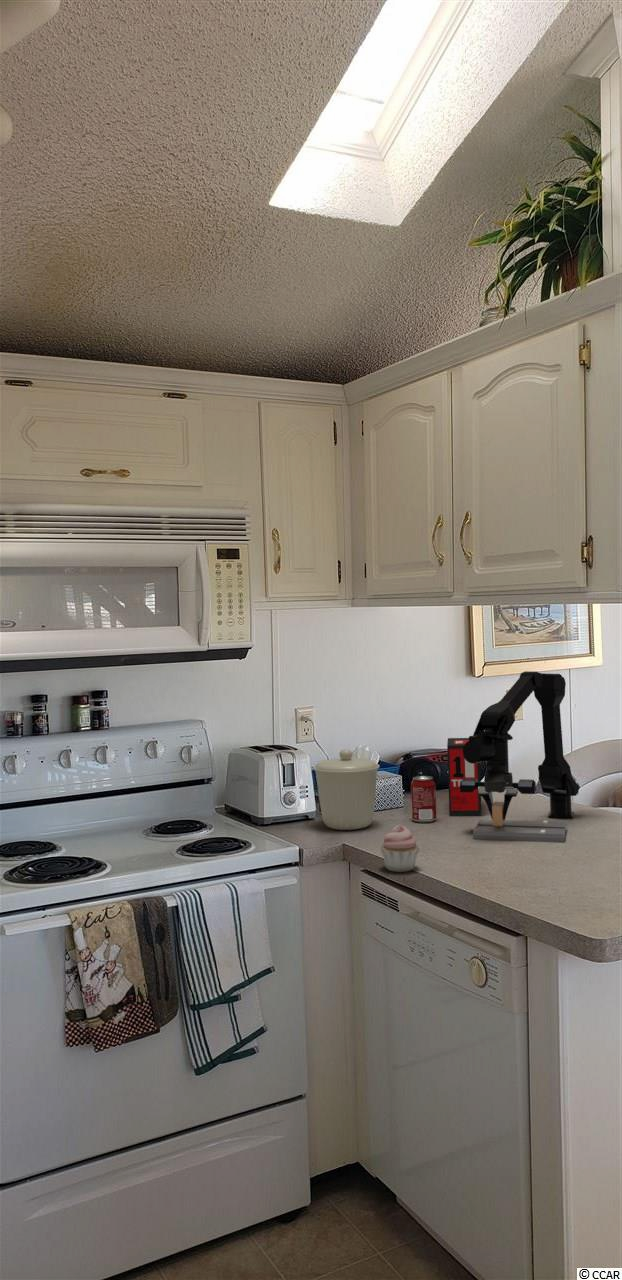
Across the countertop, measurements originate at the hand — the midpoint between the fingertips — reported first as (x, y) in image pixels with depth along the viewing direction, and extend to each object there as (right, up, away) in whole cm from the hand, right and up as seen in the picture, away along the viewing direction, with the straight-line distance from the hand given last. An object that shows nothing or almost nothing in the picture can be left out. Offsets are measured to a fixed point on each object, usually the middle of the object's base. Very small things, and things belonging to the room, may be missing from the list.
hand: (498, 819), depth 240 cm
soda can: (-17, -4, +18) cm, 25 cm away
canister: (-38, -5, +14) cm, 41 cm away
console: (+5, -4, -2) cm, 6 cm away
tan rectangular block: (0, -2, 0) cm, 2 cm away
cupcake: (-28, -5, -31) cm, 42 cm away
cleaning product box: (-4, -4, +31) cm, 31 cm away
